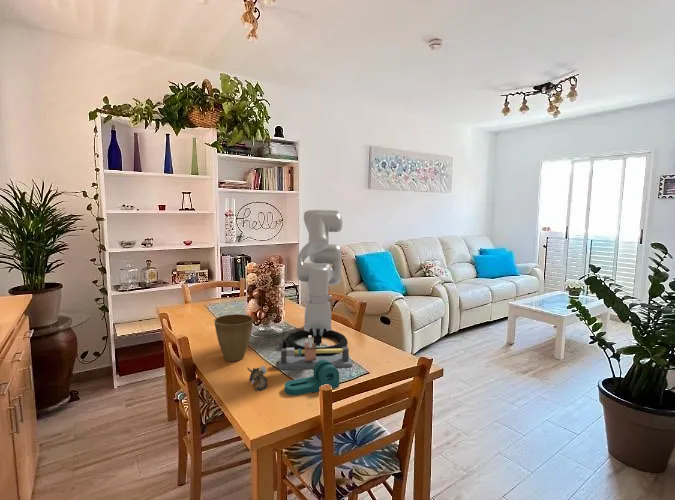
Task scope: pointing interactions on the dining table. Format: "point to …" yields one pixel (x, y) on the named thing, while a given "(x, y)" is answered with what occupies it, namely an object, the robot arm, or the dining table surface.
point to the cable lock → (302, 333)
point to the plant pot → (233, 335)
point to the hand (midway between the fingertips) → (317, 344)
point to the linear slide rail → (301, 363)
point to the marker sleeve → (310, 350)
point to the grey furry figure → (258, 378)
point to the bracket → (314, 380)
